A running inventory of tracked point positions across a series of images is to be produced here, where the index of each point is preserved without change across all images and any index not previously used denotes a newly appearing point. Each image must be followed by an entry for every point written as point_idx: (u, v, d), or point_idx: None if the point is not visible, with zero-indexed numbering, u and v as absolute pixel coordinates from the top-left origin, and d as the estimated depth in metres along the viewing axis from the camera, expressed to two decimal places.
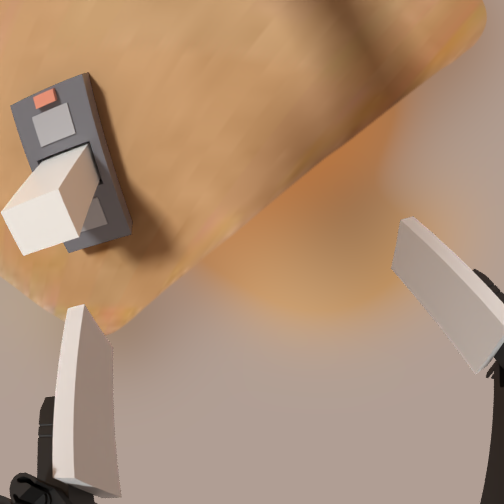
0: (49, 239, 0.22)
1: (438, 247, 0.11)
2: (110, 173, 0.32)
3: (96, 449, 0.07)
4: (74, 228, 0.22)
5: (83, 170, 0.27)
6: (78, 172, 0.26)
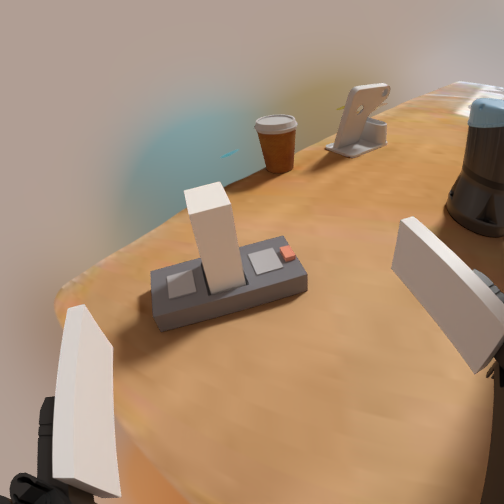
0: (192, 201, 0.35)
1: (438, 247, 0.11)
2: (216, 302, 0.39)
3: (96, 449, 0.07)
4: (197, 212, 0.33)
5: (228, 262, 0.38)
6: (230, 251, 0.37)
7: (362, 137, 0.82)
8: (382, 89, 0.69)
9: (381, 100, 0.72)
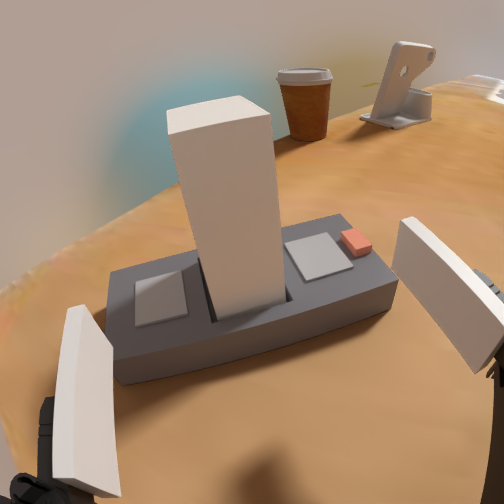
0: (180, 118, 0.15)
1: (438, 247, 0.11)
2: (228, 337, 0.19)
3: (96, 449, 0.07)
4: (188, 130, 0.13)
5: (256, 255, 0.17)
6: (261, 230, 0.17)
7: (402, 109, 0.62)
8: (428, 51, 0.48)
9: (426, 65, 0.52)
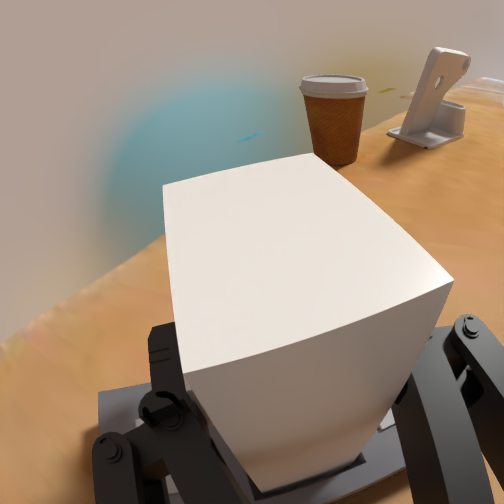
0: (201, 246, 0.06)
1: None
2: None
3: None
4: (244, 354, 0.04)
5: (335, 449, 0.09)
6: (354, 431, 0.08)
7: (432, 124, 0.53)
8: (463, 59, 0.40)
9: (460, 75, 0.43)
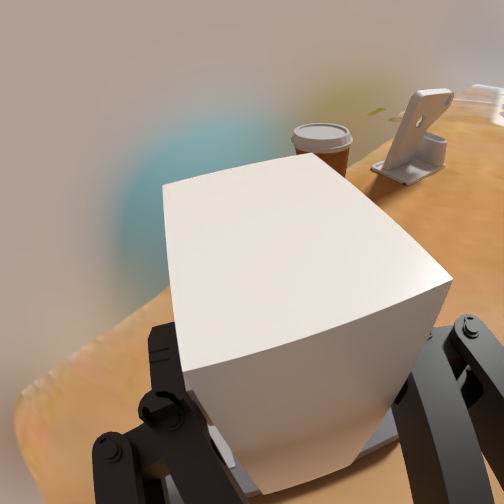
0: (201, 245, 0.06)
1: None
2: None
3: None
4: (244, 353, 0.04)
5: (335, 448, 0.09)
6: (353, 431, 0.08)
7: (415, 155, 0.61)
8: (446, 96, 0.48)
9: (442, 110, 0.51)
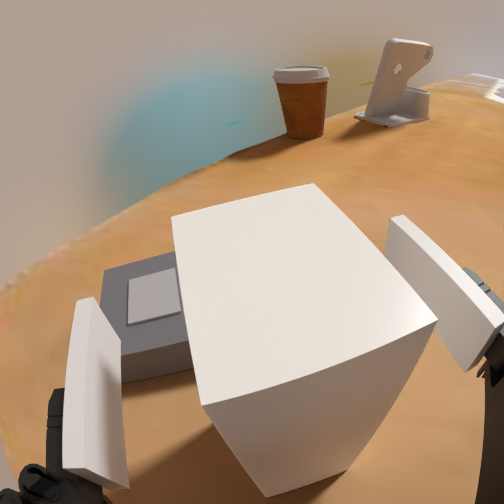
0: (212, 285, 0.07)
1: (427, 245, 0.11)
2: None
3: (105, 440, 0.08)
4: (253, 389, 0.05)
5: (333, 456, 0.10)
6: (350, 441, 0.09)
7: (399, 108, 0.61)
8: (424, 48, 0.47)
9: (423, 63, 0.51)
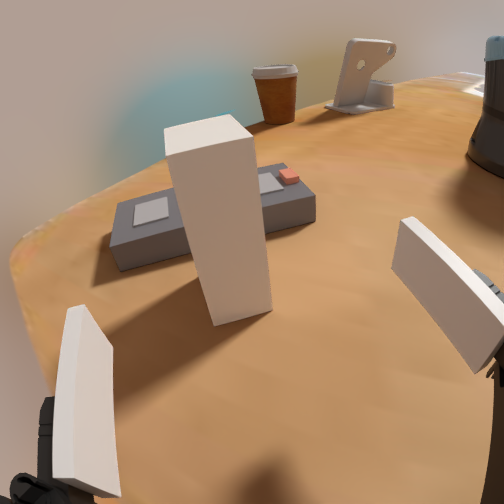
0: (176, 138, 0.17)
1: (438, 247, 0.11)
2: None
3: (96, 449, 0.07)
4: (182, 151, 0.15)
5: (243, 258, 0.20)
6: (247, 236, 0.19)
7: (367, 99, 0.71)
8: (386, 46, 0.58)
9: (386, 59, 0.61)
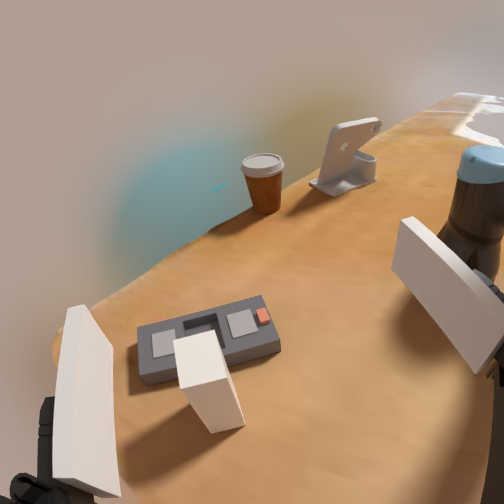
0: (183, 364, 0.29)
1: (438, 247, 0.11)
2: None
3: (96, 449, 0.07)
4: (189, 386, 0.27)
5: (226, 412, 0.32)
6: (227, 406, 0.31)
7: (351, 172, 0.83)
8: (371, 124, 0.69)
9: (371, 135, 0.73)
